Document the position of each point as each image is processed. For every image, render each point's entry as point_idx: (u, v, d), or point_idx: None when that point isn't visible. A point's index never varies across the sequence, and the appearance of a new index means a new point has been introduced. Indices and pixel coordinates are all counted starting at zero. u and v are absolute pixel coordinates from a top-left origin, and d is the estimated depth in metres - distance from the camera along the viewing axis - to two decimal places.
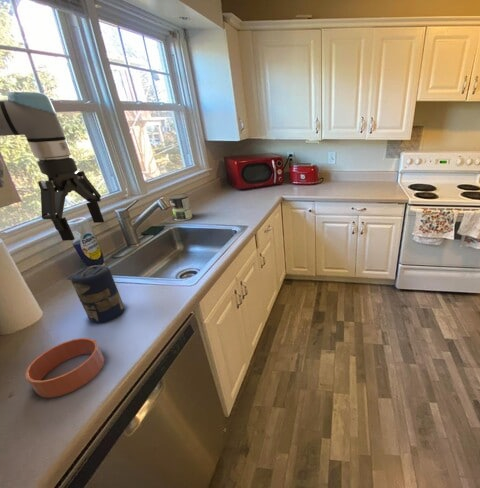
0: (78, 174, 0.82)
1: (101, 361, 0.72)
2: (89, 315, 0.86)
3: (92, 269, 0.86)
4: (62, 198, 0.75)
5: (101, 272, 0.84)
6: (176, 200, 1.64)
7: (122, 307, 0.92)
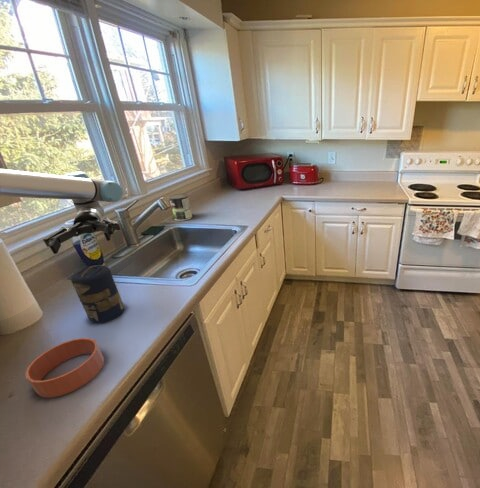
0: None
1: (101, 361, 0.72)
2: (89, 315, 0.86)
3: (92, 269, 0.85)
4: None
5: (101, 272, 0.84)
6: (176, 200, 1.64)
7: (122, 307, 0.92)
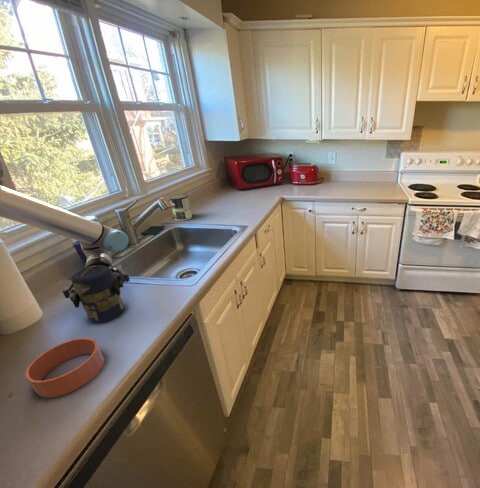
0: None
1: (101, 361, 0.72)
2: (89, 315, 0.86)
3: (92, 269, 0.85)
4: None
5: (101, 272, 0.84)
6: (176, 200, 1.64)
7: (122, 307, 0.92)
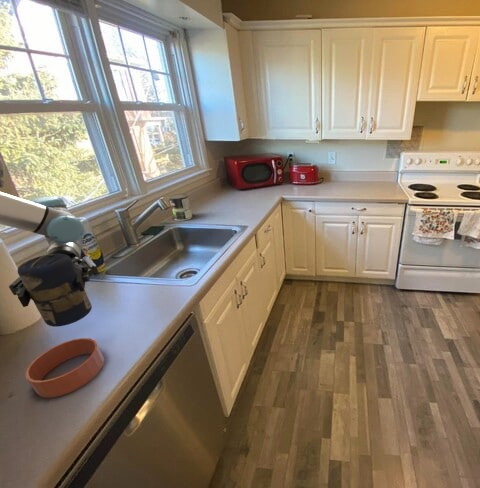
0: None
1: (101, 361, 0.72)
2: (44, 316, 0.68)
3: (47, 258, 0.67)
4: None
5: (58, 262, 0.66)
6: (176, 200, 1.64)
7: (88, 306, 0.74)
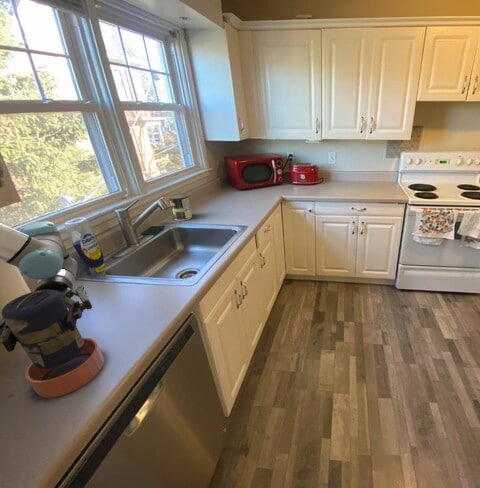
0: None
1: (101, 361, 0.72)
2: (31, 359, 0.63)
3: (35, 296, 0.62)
4: None
5: (46, 301, 0.61)
6: (176, 200, 1.64)
7: (81, 345, 0.68)
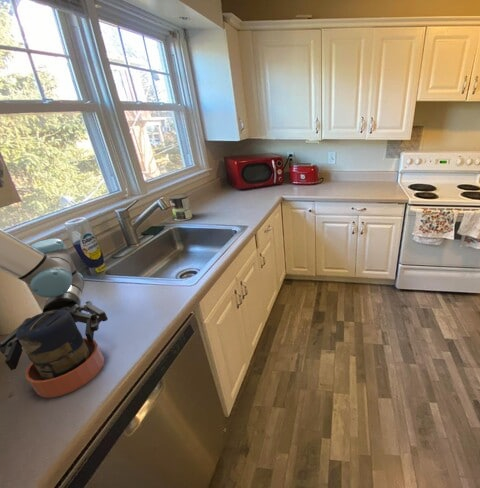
0: None
1: (101, 361, 0.72)
2: (43, 377, 0.65)
3: (47, 317, 0.65)
4: None
5: (58, 322, 0.63)
6: (176, 200, 1.64)
7: None
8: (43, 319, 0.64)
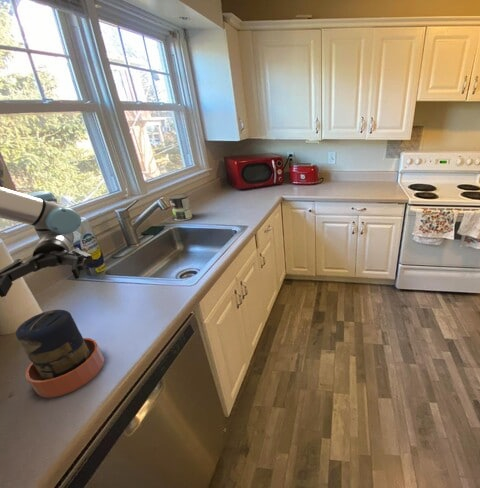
0: None
1: (101, 361, 0.72)
2: (43, 377, 0.65)
3: (47, 317, 0.65)
4: None
5: (58, 322, 0.63)
6: (176, 200, 1.64)
7: None
8: (43, 319, 0.64)
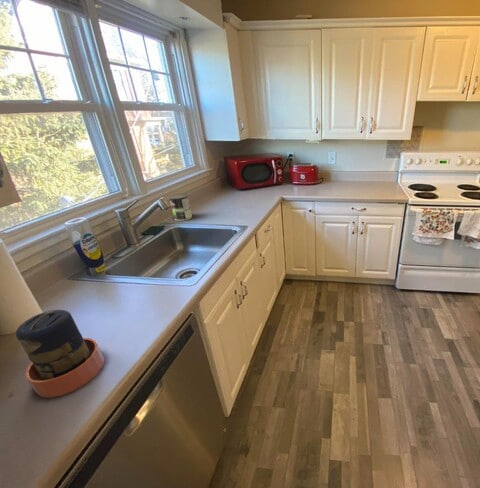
0: None
1: (101, 361, 0.72)
2: (43, 377, 0.65)
3: (47, 317, 0.65)
4: None
5: (58, 322, 0.63)
6: (176, 200, 1.64)
7: None
8: (43, 319, 0.64)
